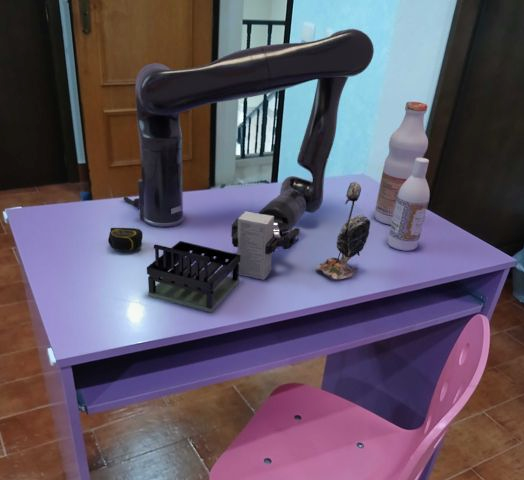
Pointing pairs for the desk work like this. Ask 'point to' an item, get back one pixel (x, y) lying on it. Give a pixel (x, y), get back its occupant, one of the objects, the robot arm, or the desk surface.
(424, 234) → the desk surface
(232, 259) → the dish rack
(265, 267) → the cosmetic box
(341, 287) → the desk surface
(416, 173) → the bath foam
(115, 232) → the tape measure
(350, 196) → the plant with pod
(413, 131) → the fruit juice
